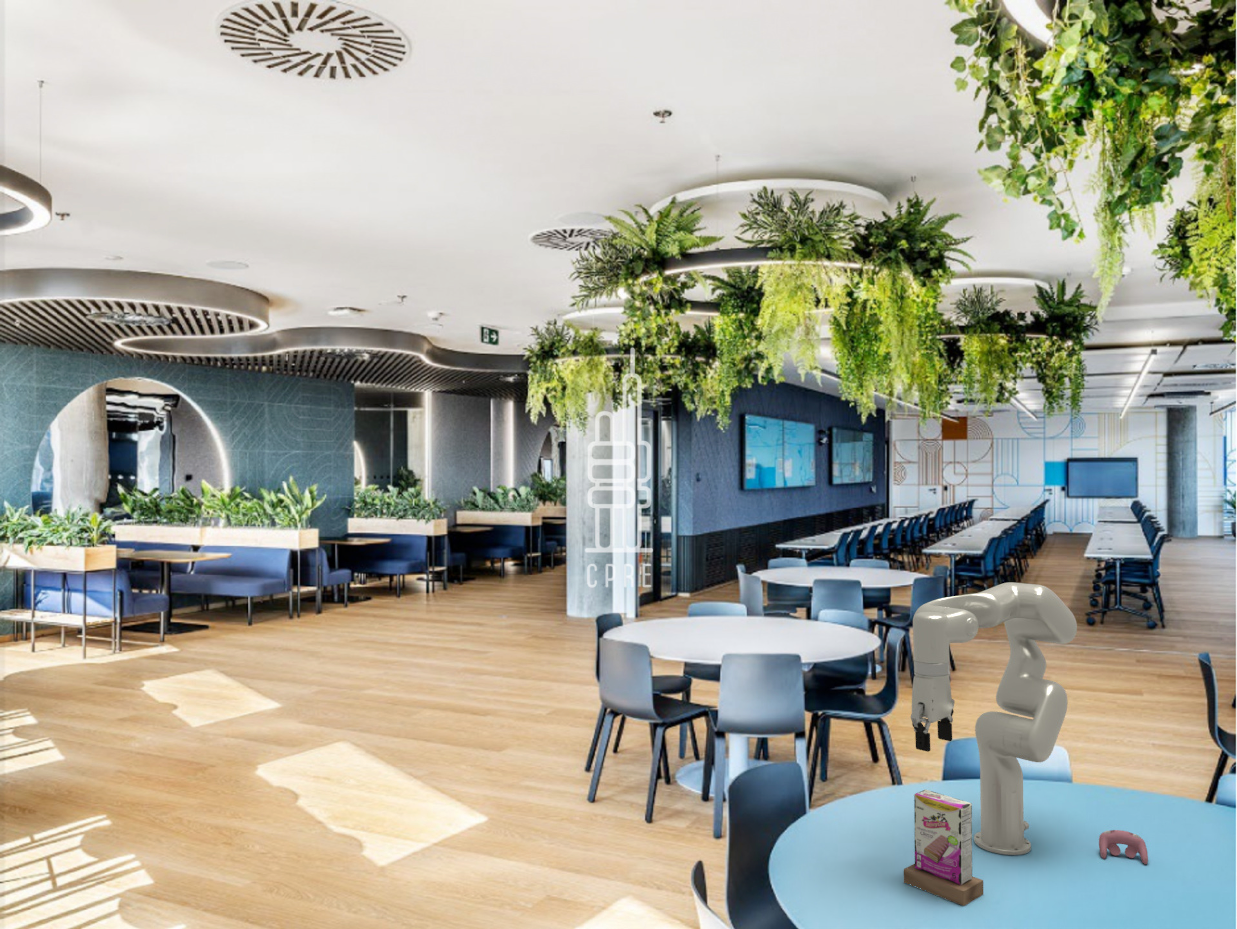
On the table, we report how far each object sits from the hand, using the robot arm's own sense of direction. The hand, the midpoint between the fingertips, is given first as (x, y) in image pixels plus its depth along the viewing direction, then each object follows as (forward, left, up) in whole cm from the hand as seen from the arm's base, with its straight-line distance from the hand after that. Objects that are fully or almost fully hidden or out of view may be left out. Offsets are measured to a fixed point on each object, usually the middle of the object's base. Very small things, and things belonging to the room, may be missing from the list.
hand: (934, 744), depth 199 cm
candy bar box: (+5, +4, -26) cm, 27 cm away
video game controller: (-42, +23, -29) cm, 56 cm away
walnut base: (+5, +4, -29) cm, 30 cm away
